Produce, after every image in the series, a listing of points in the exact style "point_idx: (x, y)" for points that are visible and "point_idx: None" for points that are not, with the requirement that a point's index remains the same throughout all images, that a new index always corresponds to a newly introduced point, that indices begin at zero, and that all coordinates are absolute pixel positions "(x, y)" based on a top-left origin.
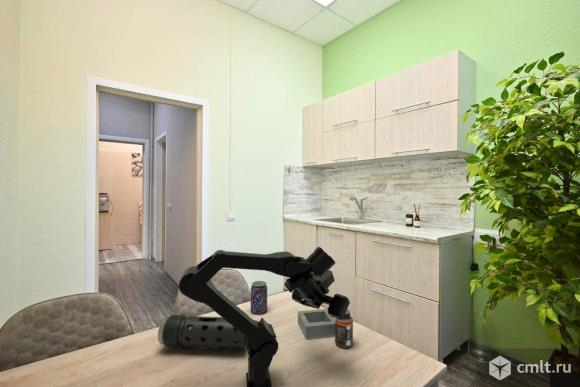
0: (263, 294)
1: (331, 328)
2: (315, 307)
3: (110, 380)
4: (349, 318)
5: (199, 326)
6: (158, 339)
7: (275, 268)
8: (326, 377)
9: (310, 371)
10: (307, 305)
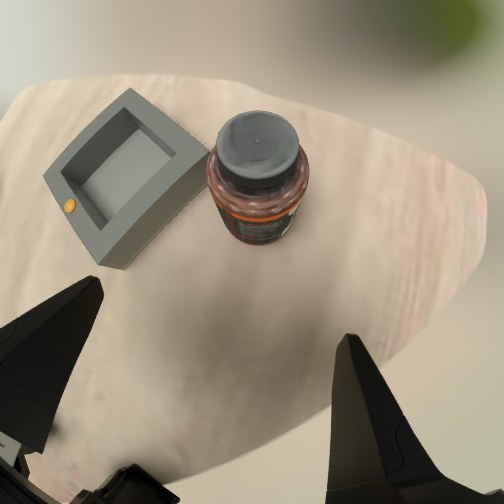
0: None
1: (189, 181)
2: (83, 339)
3: None
4: (296, 165)
5: None
6: None
7: None
8: (283, 418)
9: (227, 421)
10: (50, 422)
